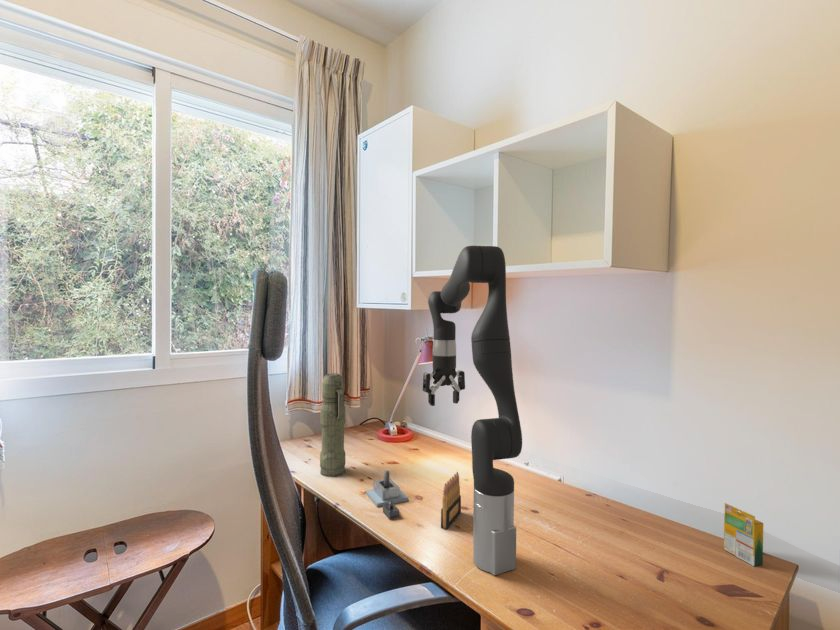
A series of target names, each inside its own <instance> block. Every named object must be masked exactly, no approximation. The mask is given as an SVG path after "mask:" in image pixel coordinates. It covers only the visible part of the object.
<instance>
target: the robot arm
mask: <svg viewBox="0 0 840 630" xmlns="http://www.w3.org/2000/svg"><path fill="white" fill-rule="evenodd" d="M505 258H506V257H505V253H504V251H503V250H502V248H501V247H499V246H497V245H495V246H493V245H467V246H465V247H464V248H462V249H461V251H460V252H459V254H458V257H457V258H456V261H455V264H454V267H453V269H452V271H451V274H450V276H449V279H448V280H447V282H446V283H445V284H444V285H443V287H442V289H441V290H439V291H438V290H437V291H436V290H435V291H432V292H431V293H430V294H429V296H428V299H427V303H428V304H427V305H428V308H429V309H428V310H429V312H430V315H431V320H432V324H433V344H432V372H431V373H429V372H424V373H423V376H422V377H423V378H422V392H424V393H427V394H428V395H427V396H428V397H427V399H428V402H427V403H428V404H429V406H431V407H434V406H435V405H436V394H435V393H436V391H437V390H438V389H439V388H440V387H444V386H449V387H451V389H453V390H452V402H453V404H455V405H456V404H459V402H460V392H461V391H463V390H465V389H466V380H465V379H466V378H465V377H466V375H465V371H463V370H456V368H457V341H456V338H457V337H456V329H457V326H456V323H455V322H454V321H450V320H448V319H447V320H446V319H444V318H443V317H442V314H456V313H459V312H460V310H461V309H462V302H463V300H465V299H466V298H467V296H468V295H469V293H470V290H471V284H470V283H472V284H487V286H488V294H487V295H488V296H487V301H486V304H485V306H484V309H483V311H482V313H481V315H480V316H479V318H478V319H477V321H476V324H475V325H474V326H473V330H472V333H471V336H470V337H471V339H470V340H471V341H470V342H471V354H472V362H473V365H474V368H475V369H476V371H477V373H478V374H479V376H480V377H481V378H482V380H483V381H484V383H485V384H486V385H487V388H488V389H489V390H490V392H491V394H492V395H493V398H494V400H495V403H496V407H497V414H498V417H495V418H494V417H493V418H484V419H483V418H482V419H478V420H475V421H474V422H473V425H472V427H471V434H470V435H471V436H470V437H471V438H470V439H471V440H470V441H471V443H470V444H471V462H472V464H471V467H472V468H471V469H472V476H473V477H472V478H473V520H472V521H473V522H472V523H473V533H472V534H473V535H472V536H473V537H472V538H473V540H472V543H473V548H472V550H473V552H472V555H473V556H472V558H473V559H472V560H473V563H474V565H475V566H476V567H477V568H478V569H480V570H482V571H484V572H487V573H490V574H491V575H493V576H498V575H500V574H503V573H507V572H510V571H513V570H515V569H517V527H516V526H515V525H514V522H515V514H514V513H515V479H514V476H513V475H512V474H510V473H509V472H507V471H505V470H503V469H499V468H496V467H494V461H499V460H506V459H507V460H508V459H515V458H517V457H519V456H520V454H521V452H522V448H523V433H522V427H521V421H520V414H519V410H518V405H517V398H516V391H515V386H514V385H515V384H514V374H513V362H512V348H511V347H512V346H511V336H510V330H509V323H508V322H509V320H508V310H507V308H508V307H507V284H506V283H507V275H506V274H507V270H506V267H507V266H506V259H505ZM456 378H457V381H456V380H455V379H456ZM432 379H433V380H432ZM431 380H432V382H431Z"/></svg>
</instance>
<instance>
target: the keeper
mask: <svg viewBox="0 0 840 630" xmlns="http://www.w3.org/2000/svg"><path fill="white" fill-rule="evenodd" d="M383 472H384V473H383V479H384V488H385V489H386V488H389V478H390V470H384V471H383ZM365 495H366V496H367V497H368V498H369V499H370V501H371V502H372V503H373V504H374V505H375V506H376V508H380V507H383V505H385V504H389V501H393V504H394V505H395V504H398V503H402V502H408V501H409V496H407V495H406V494H405V493H404V492H403V490H401V489H400V497H399V498H394V499H389V500H385V501H382V500H381V498H380V497H379V496H378V495H377V494H376V493H375V491H374V488H373V489H368V490H365Z"/></svg>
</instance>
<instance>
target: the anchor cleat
mask: <svg viewBox="0 0 840 630" xmlns="http://www.w3.org/2000/svg"><path fill="white" fill-rule="evenodd" d="M382 514H384V515H385V516H386V517H387V518H388V520H394V519H398V518H400V509H399V508H398V507H397V506H396V505H395V503H394V504H393V501H389V504H385V505H383V506H382Z"/></svg>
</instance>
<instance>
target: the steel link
mask: <svg viewBox="0 0 840 630" xmlns="http://www.w3.org/2000/svg"><path fill="white" fill-rule="evenodd" d="M373 489H374V491H375V493H376V494H377V495H378V496H379V497H380V498H381V500H382V501H385V500H389V499H394V498H399V497H400V490H401V488H400V486H399V485H397V484H396V482H394V480H392V479H391V477H389V488H386V489H385V488H384V478H383V479H377V480H373Z"/></svg>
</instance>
